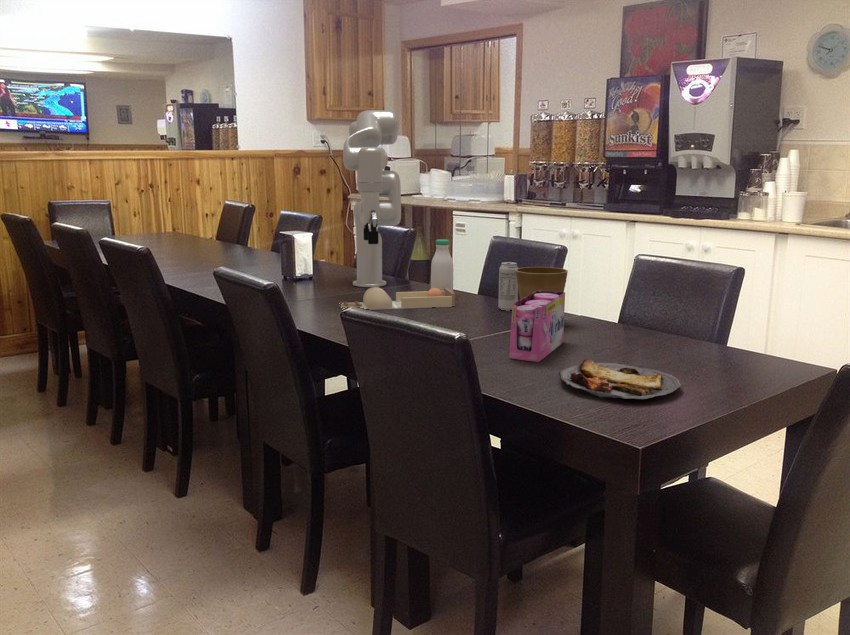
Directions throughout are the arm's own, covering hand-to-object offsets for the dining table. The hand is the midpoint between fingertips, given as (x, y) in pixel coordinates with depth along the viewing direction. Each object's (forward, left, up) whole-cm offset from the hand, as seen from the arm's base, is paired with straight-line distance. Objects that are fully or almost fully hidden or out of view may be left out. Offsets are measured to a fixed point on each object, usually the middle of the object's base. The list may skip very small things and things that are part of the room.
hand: (370, 242), depth 246 cm
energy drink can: (+14, +42, -21) cm, 49 cm away
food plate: (+97, +40, -21) cm, 107 cm away
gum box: (+65, +33, -21) cm, 76 cm away
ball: (+1, +21, -18) cm, 27 cm away
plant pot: (+35, +45, -21) cm, 61 cm away
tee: (+1, -7, -21) cm, 22 cm away
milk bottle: (-10, +26, -21) cm, 35 cm away
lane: (+1, +8, -23) cm, 25 cm away
